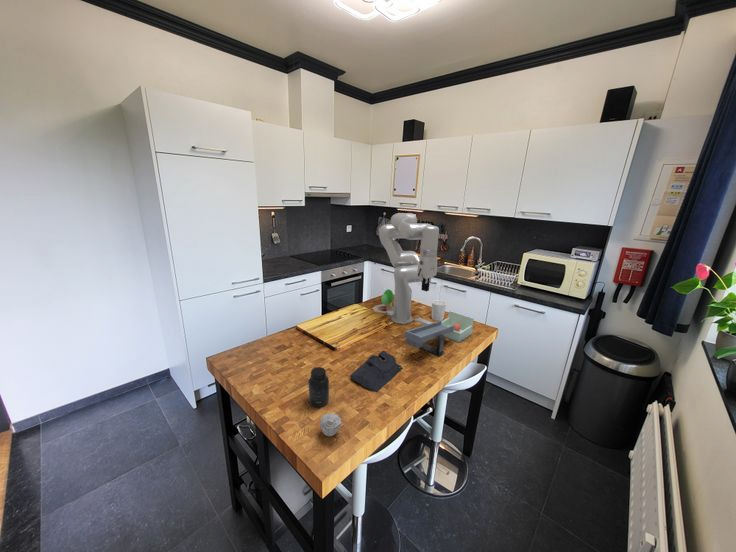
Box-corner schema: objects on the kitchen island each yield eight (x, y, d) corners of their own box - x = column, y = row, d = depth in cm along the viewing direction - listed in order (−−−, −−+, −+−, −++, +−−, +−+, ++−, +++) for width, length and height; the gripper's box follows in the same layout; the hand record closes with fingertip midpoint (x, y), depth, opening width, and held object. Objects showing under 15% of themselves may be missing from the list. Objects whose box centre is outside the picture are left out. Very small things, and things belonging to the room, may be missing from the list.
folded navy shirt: (343, 379, 111) (343, 368, 110) (375, 355, 129) (375, 345, 127) (376, 395, 103) (376, 384, 102) (405, 367, 120) (406, 357, 119)
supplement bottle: (310, 394, 102) (309, 365, 98) (329, 394, 102) (329, 364, 99) (307, 408, 95) (306, 377, 92) (328, 407, 96) (328, 376, 92)
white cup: (443, 316, 171) (445, 300, 168) (445, 321, 163) (447, 305, 160) (429, 315, 171) (431, 299, 169) (431, 321, 164) (432, 304, 161)
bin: (435, 333, 149) (436, 317, 147) (448, 325, 159) (449, 310, 156) (459, 343, 140) (461, 326, 138) (471, 334, 150) (473, 318, 147)
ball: (452, 328, 149) (455, 321, 150) (450, 329, 152) (453, 322, 153) (459, 331, 148) (462, 325, 149) (457, 333, 151) (460, 326, 153)
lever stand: (414, 346, 136) (415, 328, 134) (420, 342, 140) (421, 325, 137) (438, 357, 127) (440, 338, 125) (444, 353, 131) (446, 335, 128)
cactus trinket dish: (386, 283, 186) (401, 289, 175) (385, 303, 189) (400, 310, 179) (368, 287, 177) (382, 293, 166) (367, 307, 181) (381, 315, 170)
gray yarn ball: (331, 447, 81) (330, 426, 79) (315, 433, 85) (314, 414, 84) (346, 434, 86) (346, 414, 84) (330, 422, 90) (330, 403, 88)
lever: (389, 336, 129) (390, 324, 128) (425, 325, 150) (427, 315, 150) (418, 349, 118) (420, 337, 117) (452, 335, 140) (454, 325, 139)
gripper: (425, 256, 125) (422, 296, 130) (444, 252, 135) (440, 289, 140) (412, 253, 130) (409, 291, 135) (430, 249, 140) (427, 285, 145)
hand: (425, 290), depth 137 cm, fingers closed
